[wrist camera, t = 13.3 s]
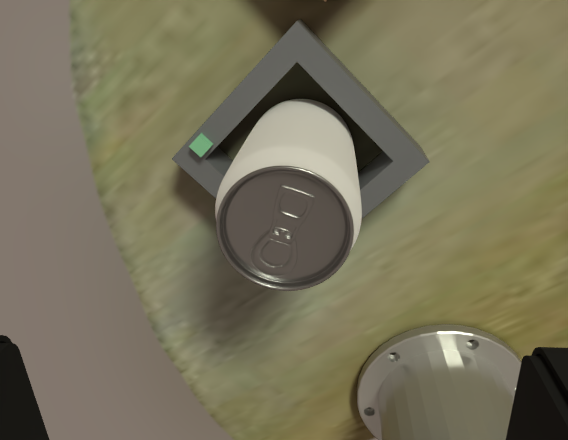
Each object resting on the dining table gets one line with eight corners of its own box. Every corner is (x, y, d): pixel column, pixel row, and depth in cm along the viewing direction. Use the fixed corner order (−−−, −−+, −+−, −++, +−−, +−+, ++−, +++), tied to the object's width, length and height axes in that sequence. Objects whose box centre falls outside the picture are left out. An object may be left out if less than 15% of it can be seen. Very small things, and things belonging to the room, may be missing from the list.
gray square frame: (420, 146, 30) (431, 165, 27) (301, 250, 34) (297, 277, 30) (300, 18, 28) (296, 21, 24) (185, 144, 31) (168, 161, 28)
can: (238, 178, 32) (189, 271, 21) (268, 81, 29) (229, 131, 18) (331, 209, 32) (331, 318, 21) (369, 117, 29) (391, 188, 19)
